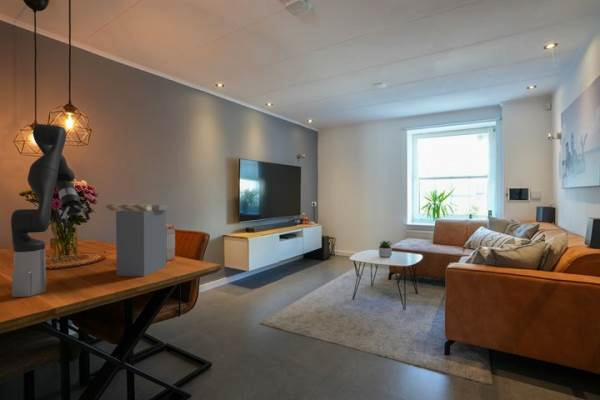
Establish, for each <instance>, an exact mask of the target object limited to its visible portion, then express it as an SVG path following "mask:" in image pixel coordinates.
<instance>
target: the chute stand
mask: <svg viewBox="0 0 600 400" xmlns="http://www.w3.org/2000/svg"><path fill="white" fill-rule="evenodd" d="M168 207H169V206H168V204H159V205H158V204H152V210H151V211H115V217H116V219H115V222H116V223H115V225H116V226H115V228H116V231H115V233H116V234H115V235H116V236H115V237H116V241H115V242H116V244H115V246H116V247H115V248H116V254H115V255H116V276H119V277H120V276H121V277H122V276H123V277H125V276H126V277H128V276H129V277H146V276H148V275H150V274H153V273H156V272H158V271H159V270H162V269H164V268H166V267H167V261H166V224H167V210H168V209H169V208H168ZM165 266H166V267H165ZM163 267H164V268H163Z"/></svg>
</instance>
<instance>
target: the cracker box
mask: <svg viewBox="0 0 600 400" xmlns="http://www.w3.org/2000/svg"><path fill="white" fill-rule="evenodd" d="M175 259H176V225H174V224H167V223H166V262H168V261H169V262H170V261H174V260H175Z"/></svg>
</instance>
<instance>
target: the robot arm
mask: <svg viewBox="0 0 600 400" xmlns="http://www.w3.org/2000/svg"><path fill="white" fill-rule="evenodd" d="M32 129H33V130H32V136H33V140H34V142H35V144H36V145H37V147H38V148H39V149H40V151H41V152H42V154H43V155H41V156H40V157H39V158H38V159H36V160H35V161H34V162H33V163H32V164H30V167H29V171H28V173H27V174H28V175H27V182H28V183H27V184H28V185H29V187H30V188H31V190H32V192H33V193H34V194H35V196H36V197H37V199H38V208H35V209H34V208H29V209H27V208H25V209H24V208H23V209H20V208H19V209H16V210H14V211H13V212H12V214H11V218H10V229H11V238H12V240H11V241H12V242H11V243H12V246H13V271H12V272H11V285H12V286H11V294H12V298H18V297H19V298H23V297H24V298H25V297H26V298H27V297H33V296H36V295H40V294H43V293H45V292H46V287H47V286H46V284H47V283H46V282H47V281H46V277H47V276H46V275H47V274H46V243H45V241H43V240H40V239H36V238H34V237H31V236H30V235H29V233H35V234H36V233H44V232H46V231H48V229H49V227H50V223H51V217H52V216H51V215H52V207H53V197H54V193H55V189H57V192H58V198H59V200H60V204H61V209H55V210H54V214H55V219H56V220H57V222H58V223H59V222H62V224H63V226H64V227H66V228H67V227H69V225H68V221H67V220H68V219H69V217H70V216H74V215H78V214H82V215H84V216H85V219H86V221H88V222H89V220H90V219H91V217H90V214H92V213H93V210H92V208H91V206H90V204H89V202H88V201H85V202H84V203H81V201H80V198H79V197H80V196H79V195H78V192H77V191H76V189H75V185H74V184H73V182H74V180H75V179H76V176H75V173H74V171H73V170H72V169H71V168H70V167H69V166H68V163H67V160H66V158H65V156H64V155H63V150H64V148H65V144H66V140H67V131H66V129H65V128H64V127H63V126H60V125H52V124H46V123H36V124H35V125H34V127H33V128H32ZM84 208H87V209H84ZM62 213H63V214H62ZM61 215H62V216H61Z"/></svg>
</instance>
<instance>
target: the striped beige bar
mask: <svg viewBox="0 0 600 400" xmlns="http://www.w3.org/2000/svg"><path fill="white" fill-rule="evenodd" d="M152 205H153V204H151V203H149V204H148V203H147V204H143V203H141V204H140V203H139V204H137V203H128V204H127V203H104V205H103V207H104V209H103V211H115V212H116V211H151V210H152Z"/></svg>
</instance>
